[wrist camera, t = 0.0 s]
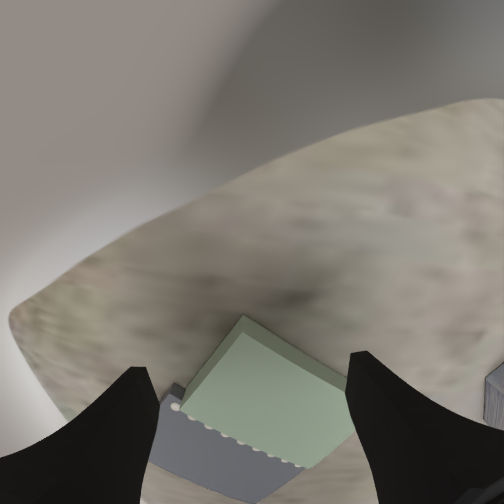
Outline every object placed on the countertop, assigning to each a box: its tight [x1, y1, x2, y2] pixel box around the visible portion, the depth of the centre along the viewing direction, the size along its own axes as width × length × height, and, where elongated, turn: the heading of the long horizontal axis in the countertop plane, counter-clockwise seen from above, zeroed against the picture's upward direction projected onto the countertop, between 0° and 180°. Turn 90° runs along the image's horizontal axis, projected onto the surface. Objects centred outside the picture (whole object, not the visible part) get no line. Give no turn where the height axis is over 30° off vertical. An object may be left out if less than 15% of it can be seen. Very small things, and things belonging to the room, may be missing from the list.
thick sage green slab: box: [179, 314, 356, 469], centre depth 20 cm, size 8×12×3 cm, turn 54°
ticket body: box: [148, 383, 306, 504], centre depth 22 cm, size 9×14×2 cm, turn 55°
